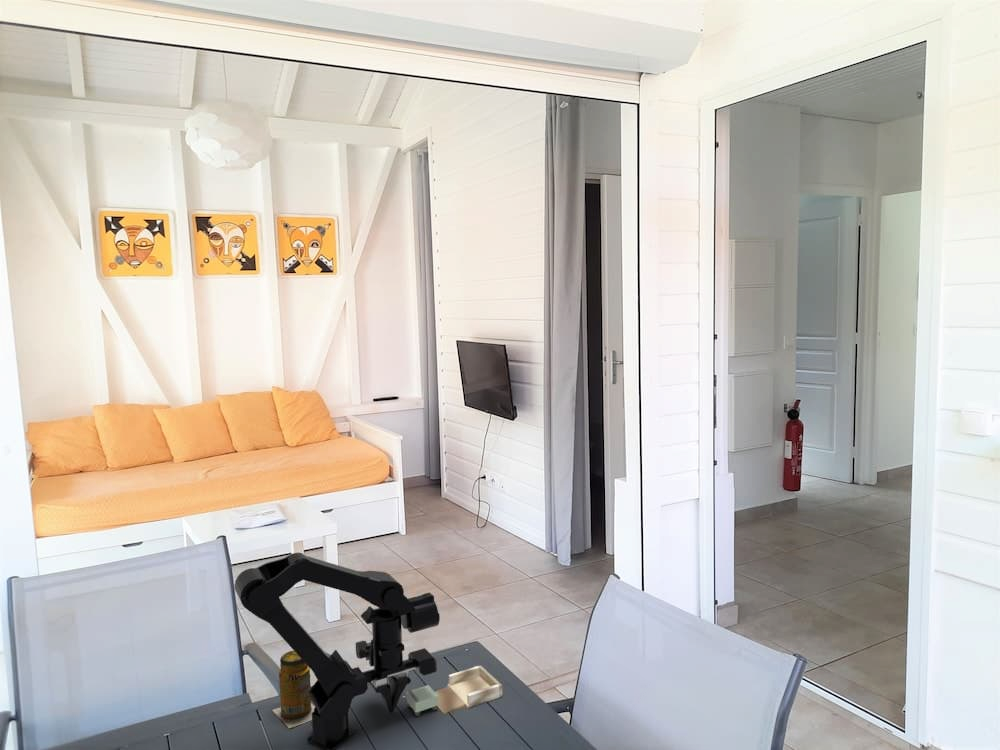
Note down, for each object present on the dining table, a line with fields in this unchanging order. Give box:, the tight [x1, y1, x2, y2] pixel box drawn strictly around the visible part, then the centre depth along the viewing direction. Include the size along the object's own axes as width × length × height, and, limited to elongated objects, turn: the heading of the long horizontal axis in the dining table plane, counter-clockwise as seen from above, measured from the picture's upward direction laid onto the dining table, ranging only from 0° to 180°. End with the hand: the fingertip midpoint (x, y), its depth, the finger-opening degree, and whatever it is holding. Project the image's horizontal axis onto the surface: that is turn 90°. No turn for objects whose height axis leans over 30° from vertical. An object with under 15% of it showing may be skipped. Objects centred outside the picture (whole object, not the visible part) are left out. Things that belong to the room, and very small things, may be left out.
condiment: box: [272, 650, 315, 729], centre depth 147 cm, size 7×8×12 cm
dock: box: [434, 664, 503, 714], centre depth 153 cm, size 13×10×3 cm
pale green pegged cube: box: [405, 684, 438, 717], centre depth 148 cm, size 5×5×4 cm
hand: (390, 711), depth 145 cm, fingers closed
